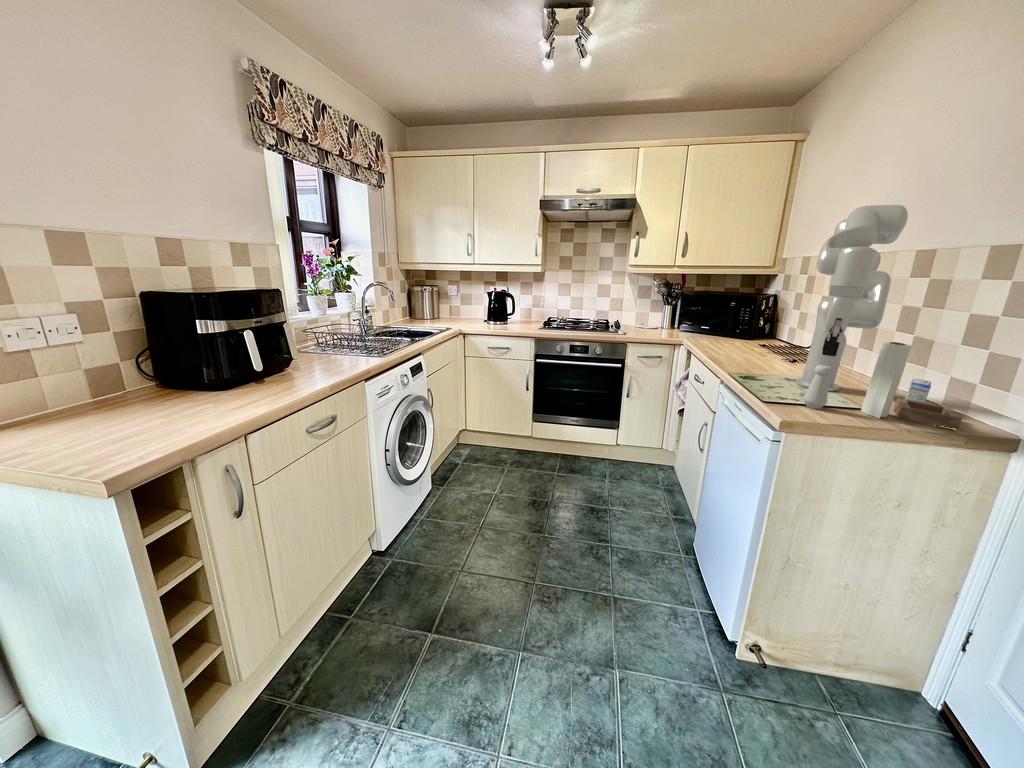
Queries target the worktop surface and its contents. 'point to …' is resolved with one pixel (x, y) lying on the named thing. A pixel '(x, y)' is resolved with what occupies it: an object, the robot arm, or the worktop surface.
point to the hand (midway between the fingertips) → (828, 353)
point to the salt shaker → (818, 388)
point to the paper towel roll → (885, 378)
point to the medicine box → (918, 390)
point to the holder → (926, 413)
